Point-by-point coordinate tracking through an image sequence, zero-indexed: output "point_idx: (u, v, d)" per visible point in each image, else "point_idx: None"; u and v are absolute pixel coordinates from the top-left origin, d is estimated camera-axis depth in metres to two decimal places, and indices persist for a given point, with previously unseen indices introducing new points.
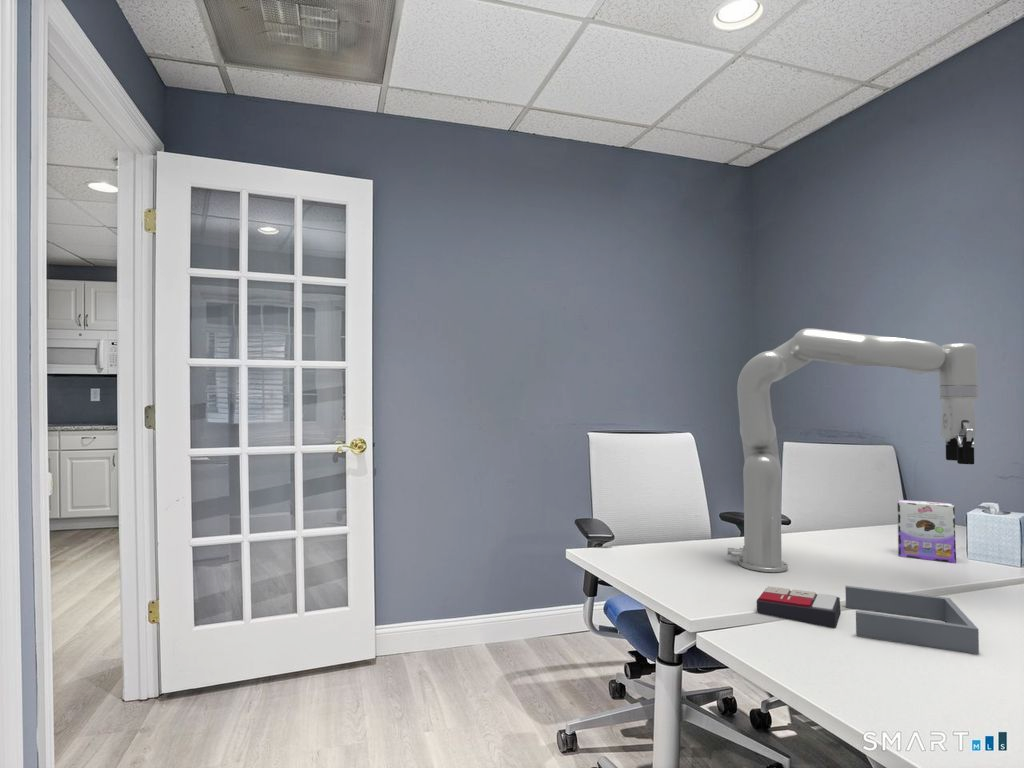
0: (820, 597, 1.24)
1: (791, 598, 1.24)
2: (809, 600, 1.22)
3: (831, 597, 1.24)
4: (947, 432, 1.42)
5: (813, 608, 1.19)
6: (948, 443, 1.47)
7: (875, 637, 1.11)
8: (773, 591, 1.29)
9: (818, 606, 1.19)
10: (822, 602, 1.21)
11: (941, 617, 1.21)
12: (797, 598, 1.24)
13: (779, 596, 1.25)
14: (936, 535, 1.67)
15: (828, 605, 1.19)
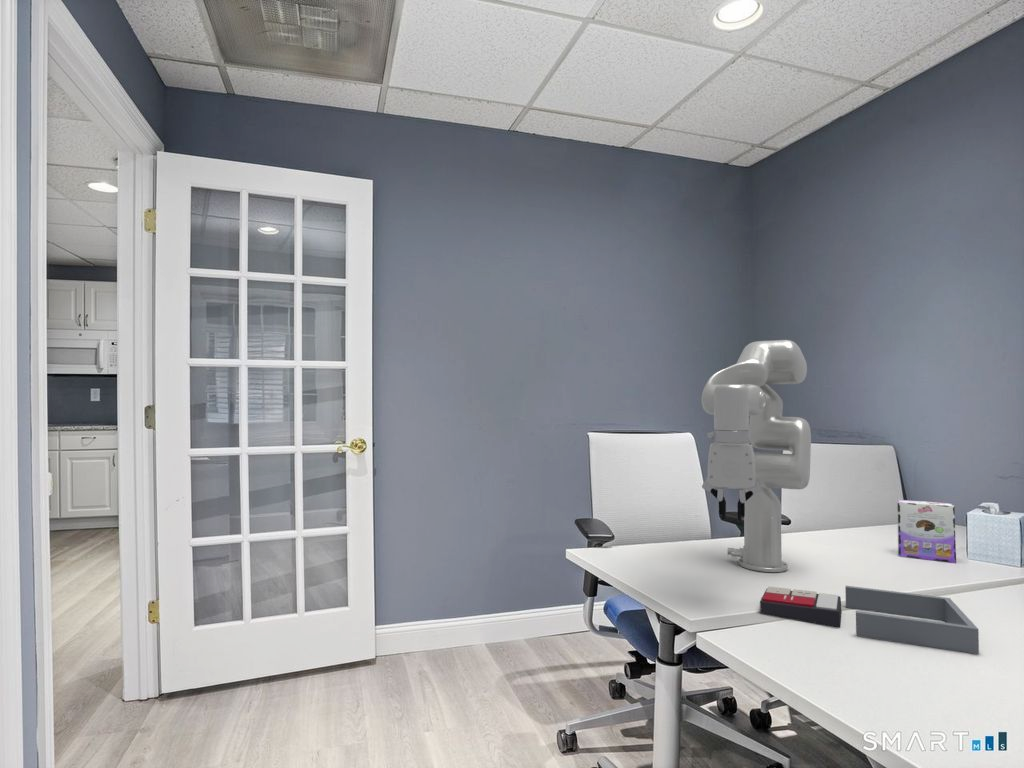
0: (822, 597, 1.25)
1: (794, 598, 1.24)
2: (812, 600, 1.22)
3: (832, 596, 1.24)
4: (739, 483, 1.28)
5: (817, 608, 1.19)
6: (723, 498, 1.31)
7: (875, 637, 1.11)
8: (775, 591, 1.29)
9: (822, 606, 1.19)
10: (825, 602, 1.21)
11: (941, 617, 1.21)
12: (800, 598, 1.24)
13: (782, 596, 1.25)
14: (936, 535, 1.67)
15: (831, 605, 1.19)
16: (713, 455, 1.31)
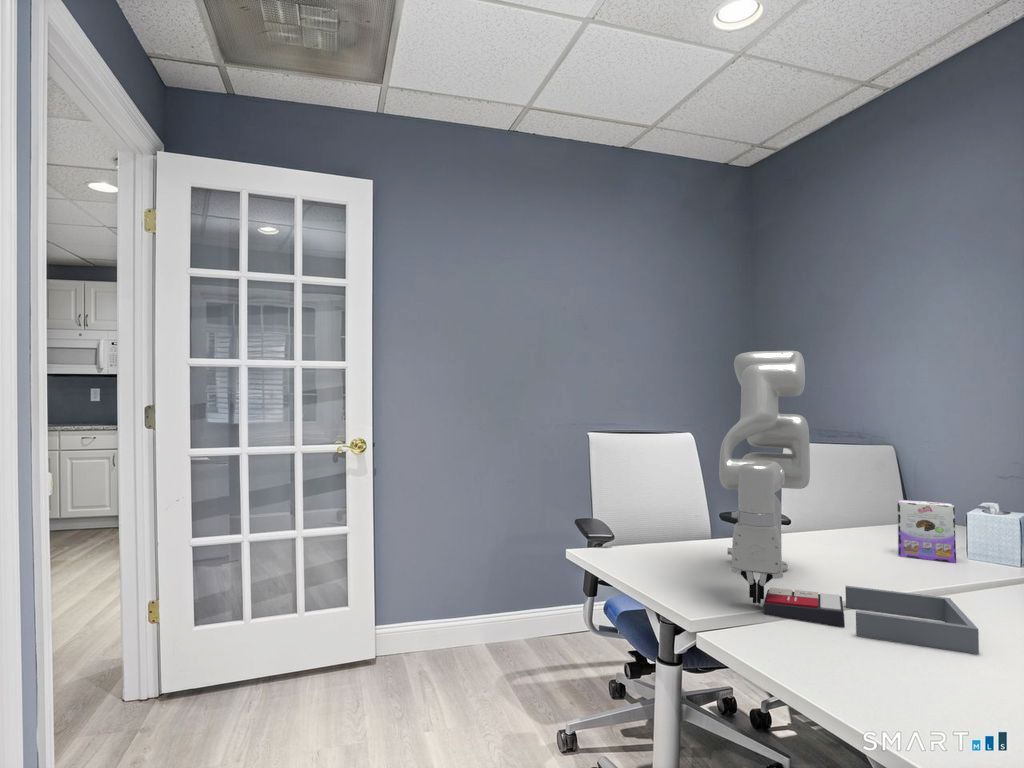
0: (824, 597, 1.25)
1: (797, 599, 1.23)
2: (815, 601, 1.22)
3: (834, 596, 1.25)
4: (765, 567, 1.25)
5: (822, 609, 1.19)
6: (753, 580, 1.28)
7: (875, 637, 1.11)
8: (777, 592, 1.28)
9: (827, 607, 1.19)
10: (828, 602, 1.21)
11: (941, 617, 1.21)
12: (803, 599, 1.24)
13: (785, 598, 1.25)
14: (936, 535, 1.66)
15: (835, 605, 1.19)
16: (738, 537, 1.28)
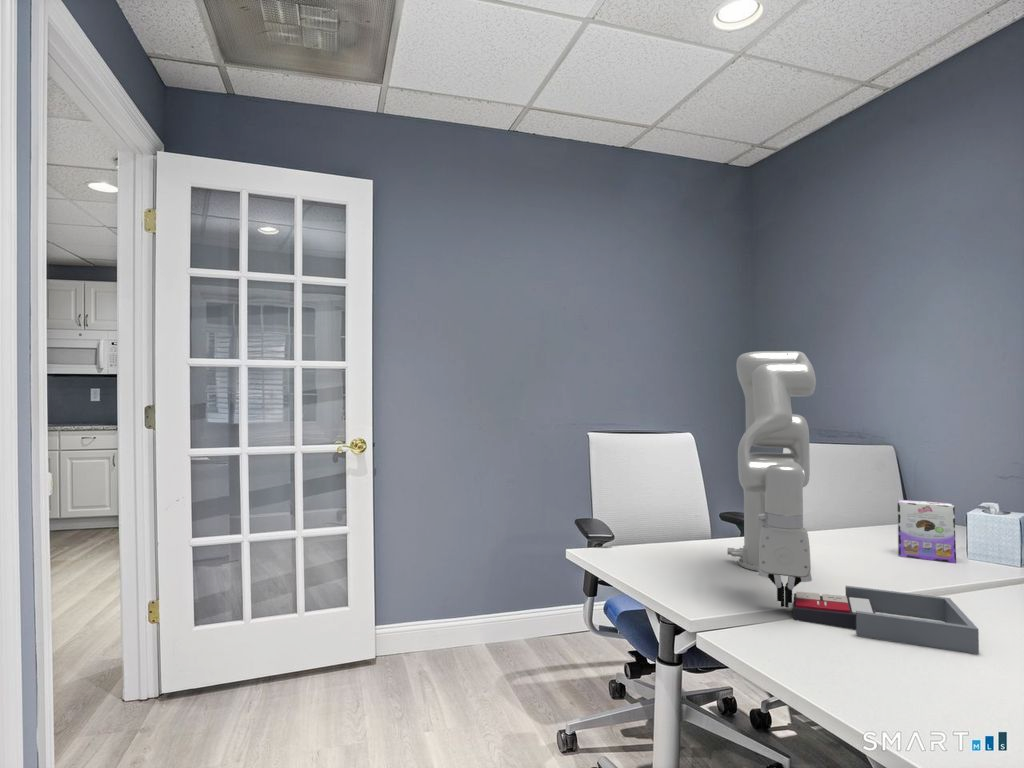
0: (854, 601, 1.22)
1: (827, 604, 1.21)
2: (846, 605, 1.19)
3: (864, 601, 1.22)
4: (794, 570, 1.23)
5: (854, 614, 1.16)
6: (781, 584, 1.25)
7: (875, 637, 1.11)
8: (805, 597, 1.26)
9: None
10: (859, 607, 1.19)
11: (941, 617, 1.21)
12: (833, 603, 1.21)
13: (814, 602, 1.22)
14: (936, 535, 1.66)
15: (867, 610, 1.17)
16: (765, 539, 1.26)
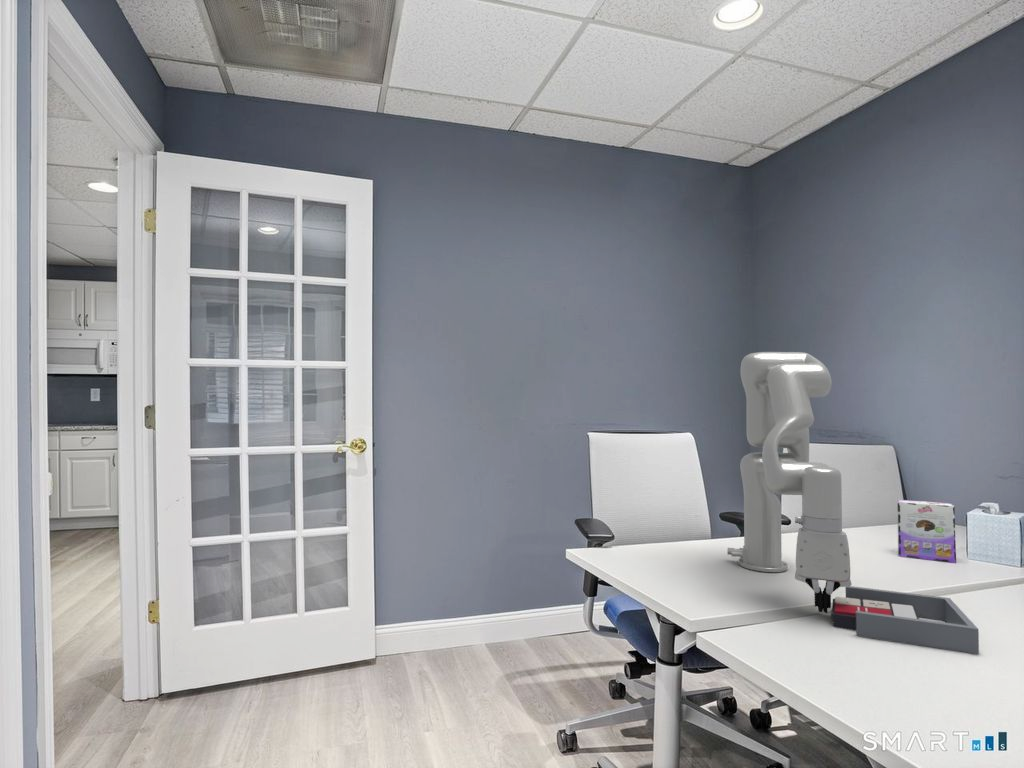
0: (897, 608, 1.18)
1: (869, 610, 1.17)
2: (888, 612, 1.15)
3: (908, 607, 1.18)
4: (833, 574, 1.20)
5: None
6: (820, 588, 1.22)
7: (875, 637, 1.11)
8: (844, 602, 1.22)
9: None
10: (903, 614, 1.15)
11: (941, 617, 1.21)
12: (874, 609, 1.17)
13: (855, 608, 1.18)
14: (936, 535, 1.67)
15: (911, 617, 1.13)
16: (803, 543, 1.23)
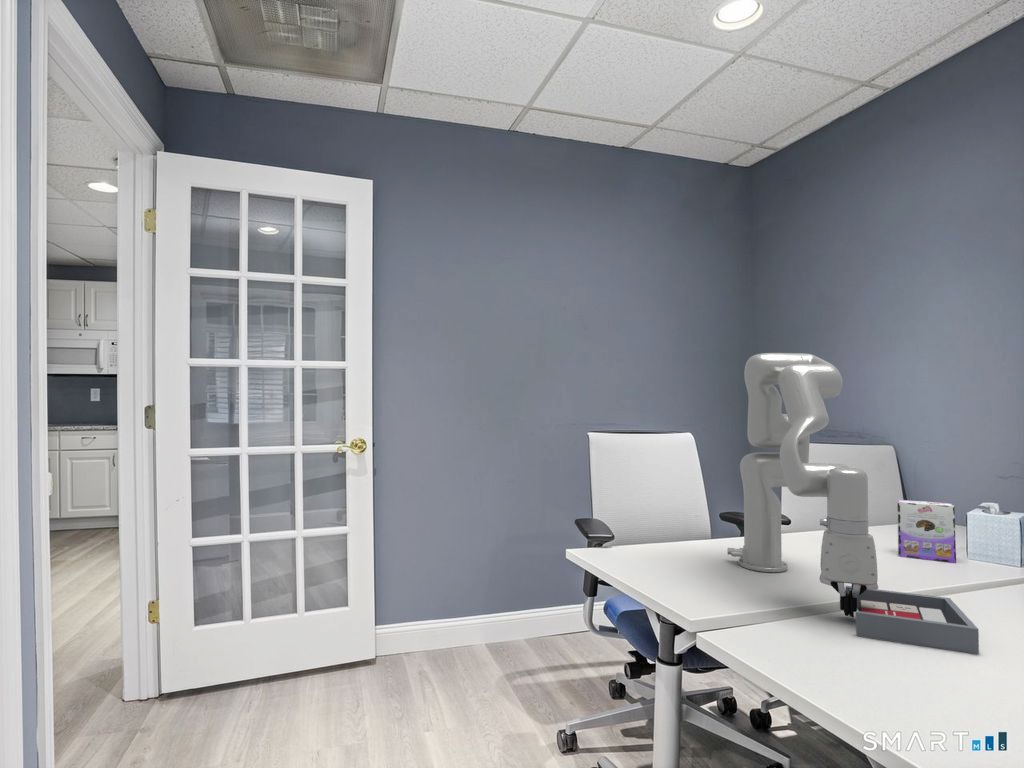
0: (925, 612, 1.16)
1: (897, 614, 1.15)
2: (917, 616, 1.13)
3: (936, 611, 1.16)
4: (860, 578, 1.18)
5: None
6: (845, 592, 1.20)
7: (875, 637, 1.11)
8: (871, 606, 1.20)
9: None
10: (932, 618, 1.13)
11: None
12: (903, 613, 1.15)
13: (882, 612, 1.16)
14: (936, 535, 1.66)
15: (941, 621, 1.11)
16: (829, 546, 1.21)
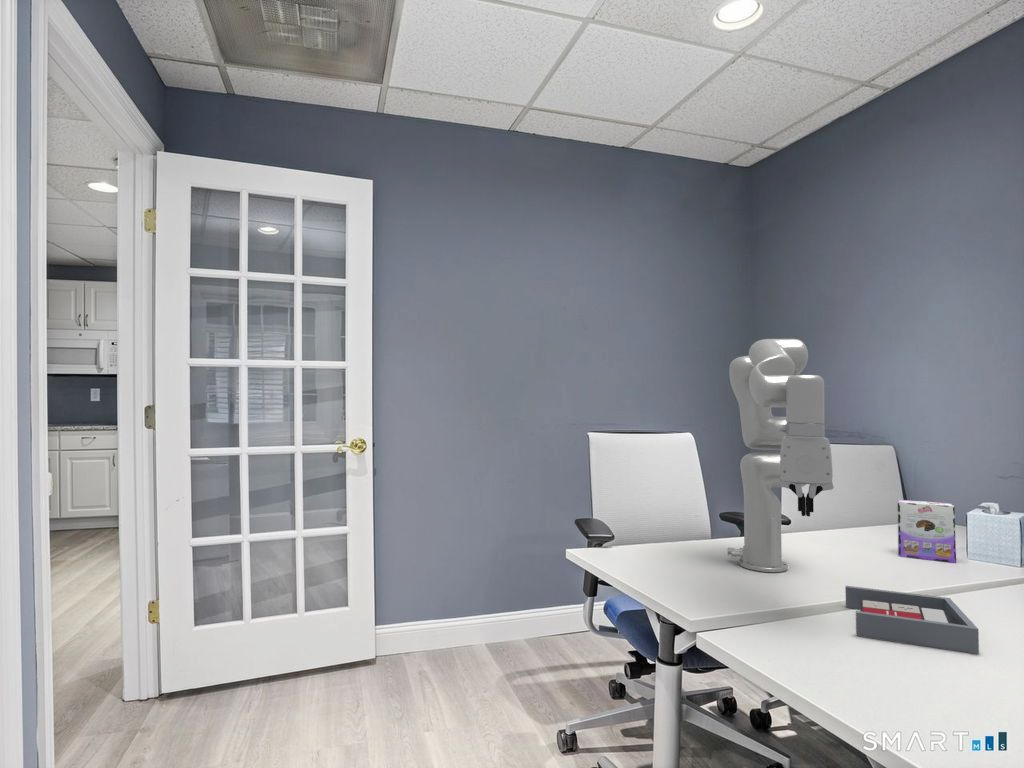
0: (927, 612, 1.16)
1: (898, 614, 1.15)
2: (919, 616, 1.13)
3: (938, 612, 1.16)
4: (816, 478, 1.22)
5: None
6: (803, 493, 1.25)
7: (875, 637, 1.11)
8: (873, 606, 1.20)
9: None
10: (933, 618, 1.12)
11: None
12: (904, 614, 1.15)
13: (883, 612, 1.16)
14: (936, 535, 1.66)
15: None
16: (786, 449, 1.25)
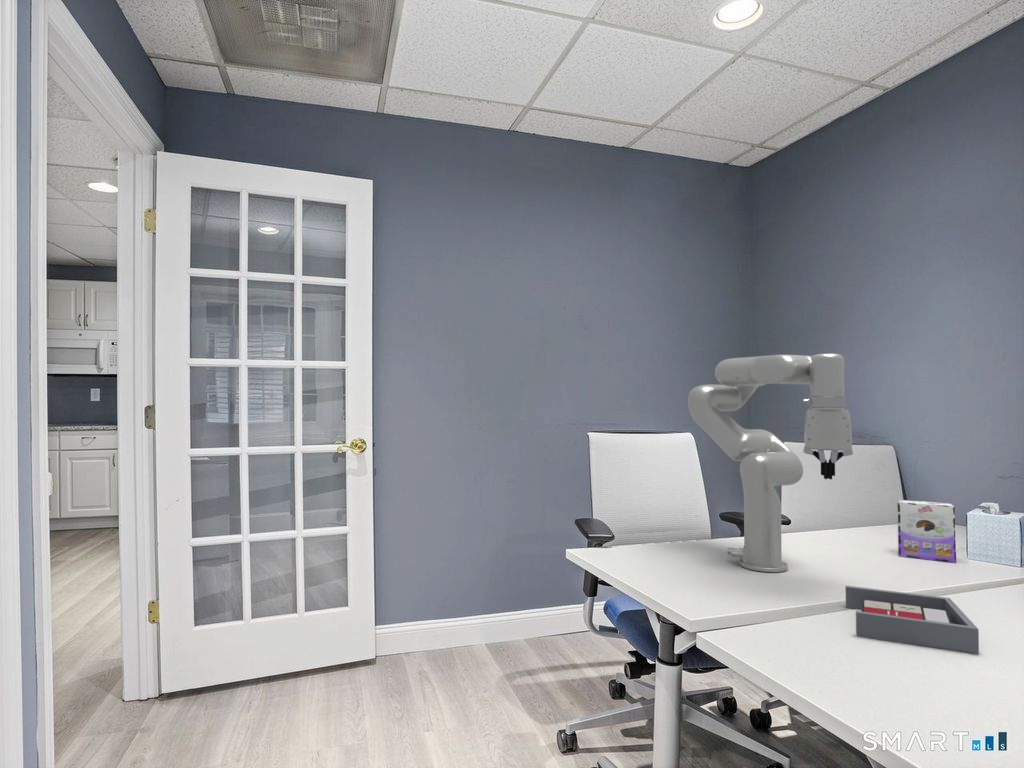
0: (928, 612, 1.16)
1: (899, 614, 1.15)
2: (920, 616, 1.13)
3: (940, 612, 1.15)
4: (837, 444, 1.38)
5: None
6: (825, 459, 1.40)
7: (875, 637, 1.11)
8: (874, 606, 1.20)
9: None
10: (935, 618, 1.12)
11: None
12: (905, 614, 1.15)
13: (884, 612, 1.16)
14: (936, 535, 1.66)
15: None
16: (811, 419, 1.40)
